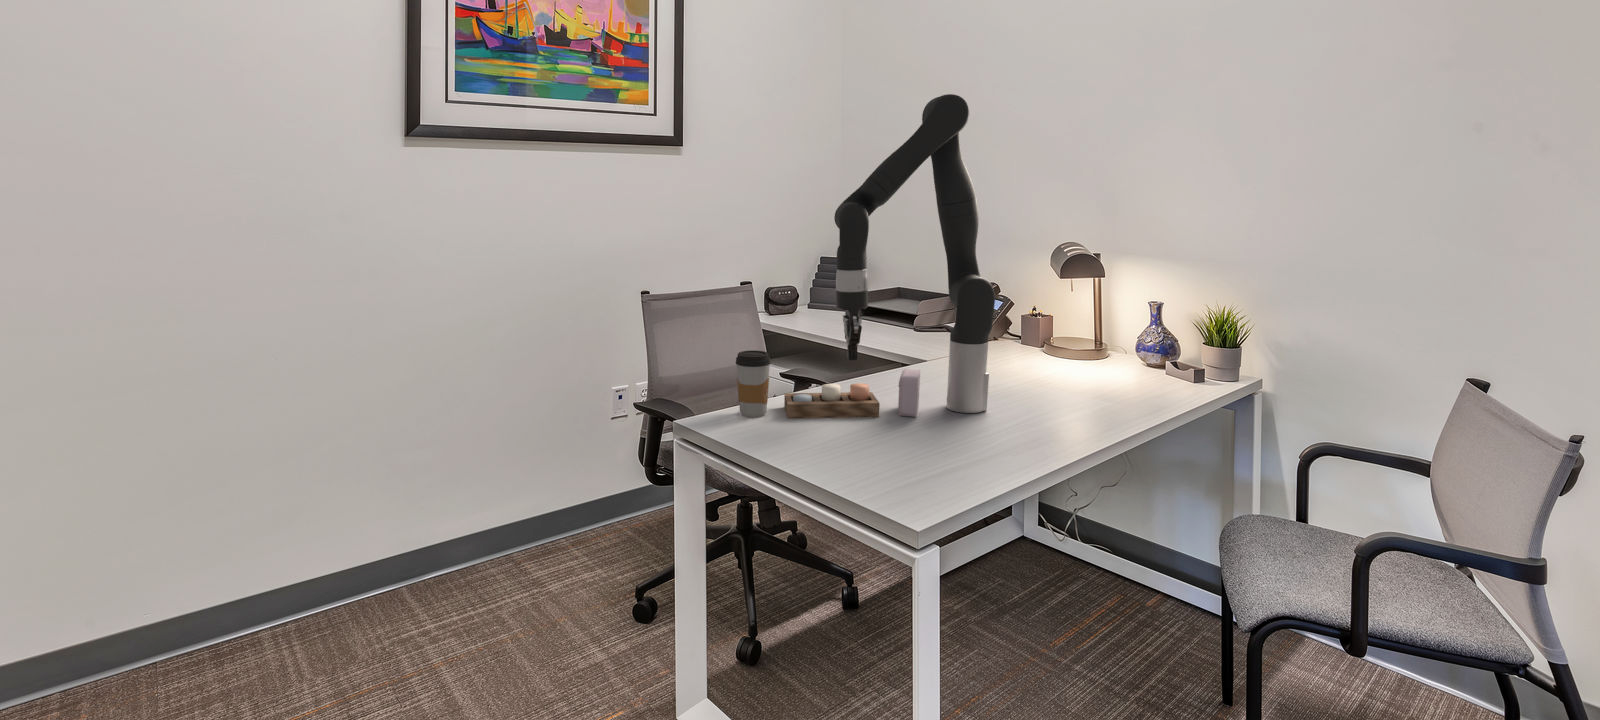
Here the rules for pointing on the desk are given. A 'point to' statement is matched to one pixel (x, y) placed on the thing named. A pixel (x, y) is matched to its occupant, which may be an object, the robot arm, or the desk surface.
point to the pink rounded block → (859, 392)
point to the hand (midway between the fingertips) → (852, 359)
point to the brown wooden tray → (830, 407)
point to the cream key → (831, 392)
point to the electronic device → (909, 392)
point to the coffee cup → (753, 382)
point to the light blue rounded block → (802, 398)
